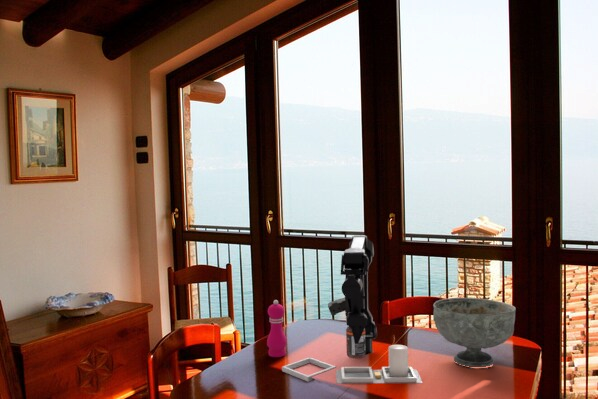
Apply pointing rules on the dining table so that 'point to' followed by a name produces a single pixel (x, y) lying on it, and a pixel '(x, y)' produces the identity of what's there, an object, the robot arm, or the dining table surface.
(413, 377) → the gray rectangular frame
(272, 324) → the pepper mill
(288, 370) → the white square frame
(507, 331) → the decorative bowl
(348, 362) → the dining table surface
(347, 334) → the supplement bottle
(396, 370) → the white peg
